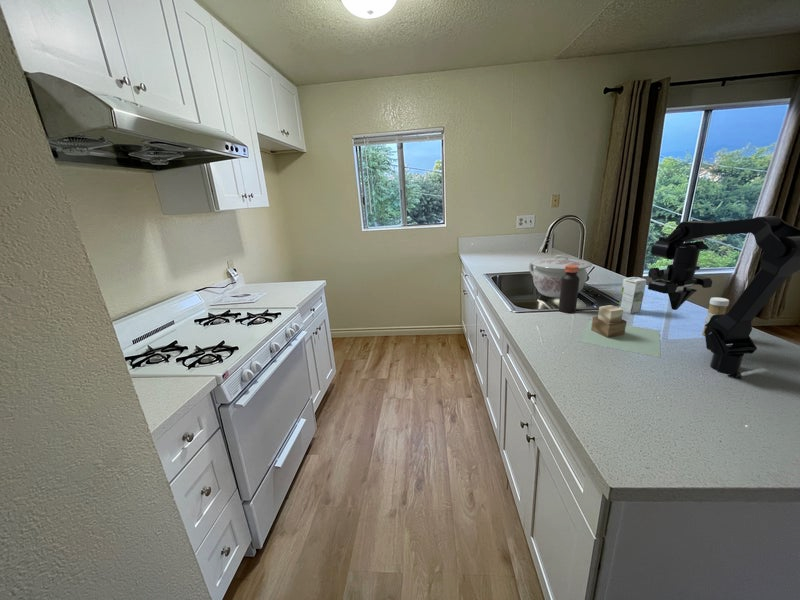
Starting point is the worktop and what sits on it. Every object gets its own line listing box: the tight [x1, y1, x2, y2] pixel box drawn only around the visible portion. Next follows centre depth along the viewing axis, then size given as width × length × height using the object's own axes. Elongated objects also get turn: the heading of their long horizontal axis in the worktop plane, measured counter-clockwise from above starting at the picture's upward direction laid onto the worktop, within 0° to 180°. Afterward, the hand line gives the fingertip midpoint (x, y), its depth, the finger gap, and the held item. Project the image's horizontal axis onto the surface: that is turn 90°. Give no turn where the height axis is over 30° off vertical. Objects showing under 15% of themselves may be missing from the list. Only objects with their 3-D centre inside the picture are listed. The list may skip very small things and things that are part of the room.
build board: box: [579, 319, 661, 358], centre depth 112 cm, size 24×22×1 cm
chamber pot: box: [528, 254, 593, 299], centre depth 160 cm, size 28×28×21 cm
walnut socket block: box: [591, 315, 628, 338], centre depth 114 cm, size 7×7×5 cm
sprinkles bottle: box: [701, 296, 730, 337], centre depth 108 cm, size 5×5×13 cm
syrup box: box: [617, 276, 647, 315], centre depth 134 cm, size 6×6×14 cm
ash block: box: [597, 304, 624, 323], centre depth 113 cm, size 5×5×5 cm
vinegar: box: [558, 265, 580, 314], centre depth 137 cm, size 7×7×20 cm
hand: (674, 309), depth 103 cm, fingers closed
